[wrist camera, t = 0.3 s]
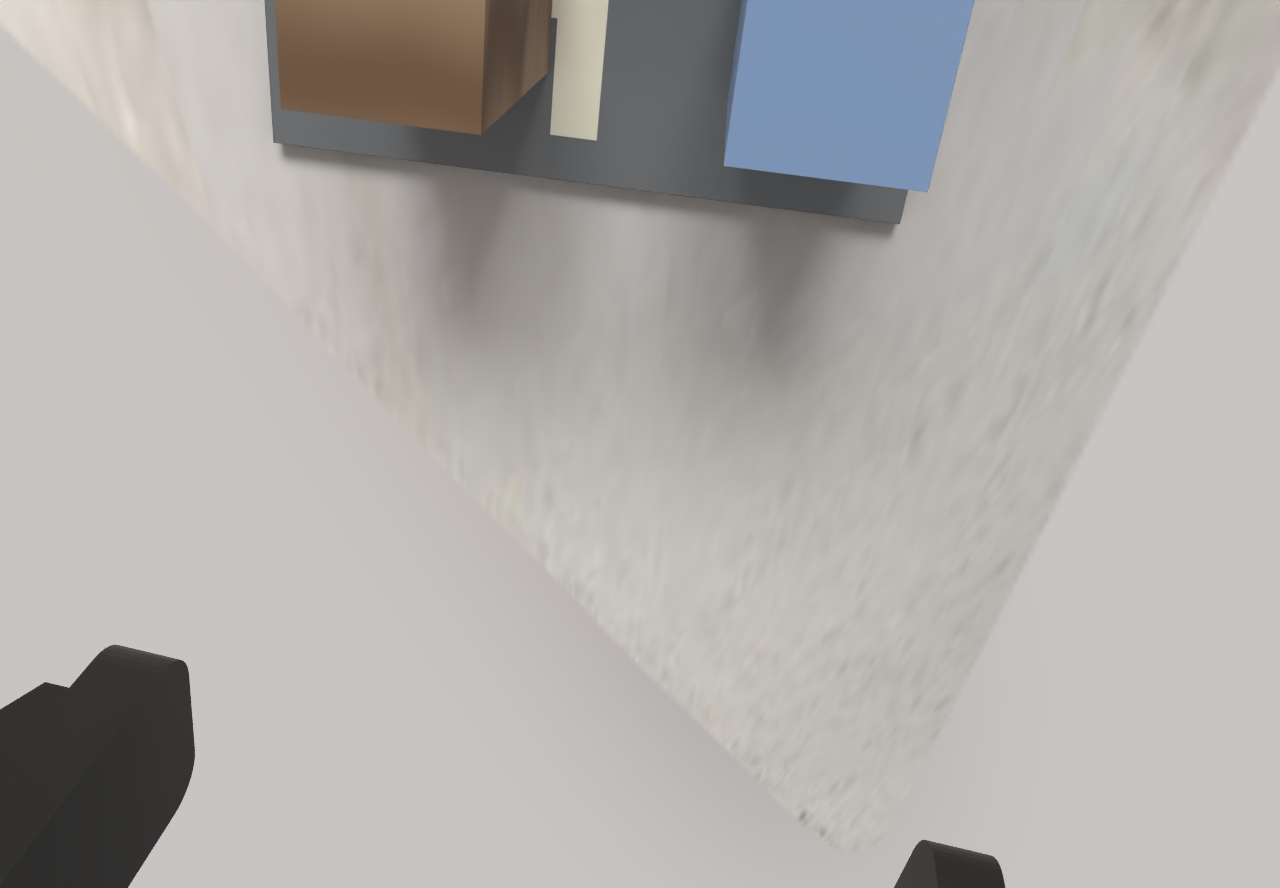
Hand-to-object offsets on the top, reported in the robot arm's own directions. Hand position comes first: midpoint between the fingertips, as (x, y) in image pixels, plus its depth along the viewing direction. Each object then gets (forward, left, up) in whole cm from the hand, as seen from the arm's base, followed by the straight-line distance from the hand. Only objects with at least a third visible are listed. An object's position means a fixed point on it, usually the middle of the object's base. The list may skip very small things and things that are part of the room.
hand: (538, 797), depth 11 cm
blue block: (-5, +4, -28) cm, 28 cm away
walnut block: (-5, -7, -28) cm, 29 cm away
